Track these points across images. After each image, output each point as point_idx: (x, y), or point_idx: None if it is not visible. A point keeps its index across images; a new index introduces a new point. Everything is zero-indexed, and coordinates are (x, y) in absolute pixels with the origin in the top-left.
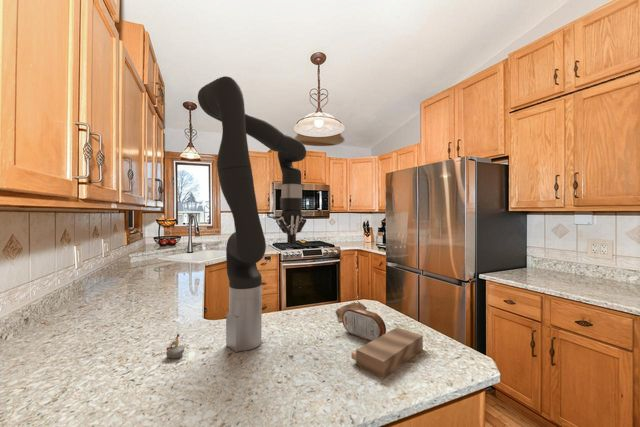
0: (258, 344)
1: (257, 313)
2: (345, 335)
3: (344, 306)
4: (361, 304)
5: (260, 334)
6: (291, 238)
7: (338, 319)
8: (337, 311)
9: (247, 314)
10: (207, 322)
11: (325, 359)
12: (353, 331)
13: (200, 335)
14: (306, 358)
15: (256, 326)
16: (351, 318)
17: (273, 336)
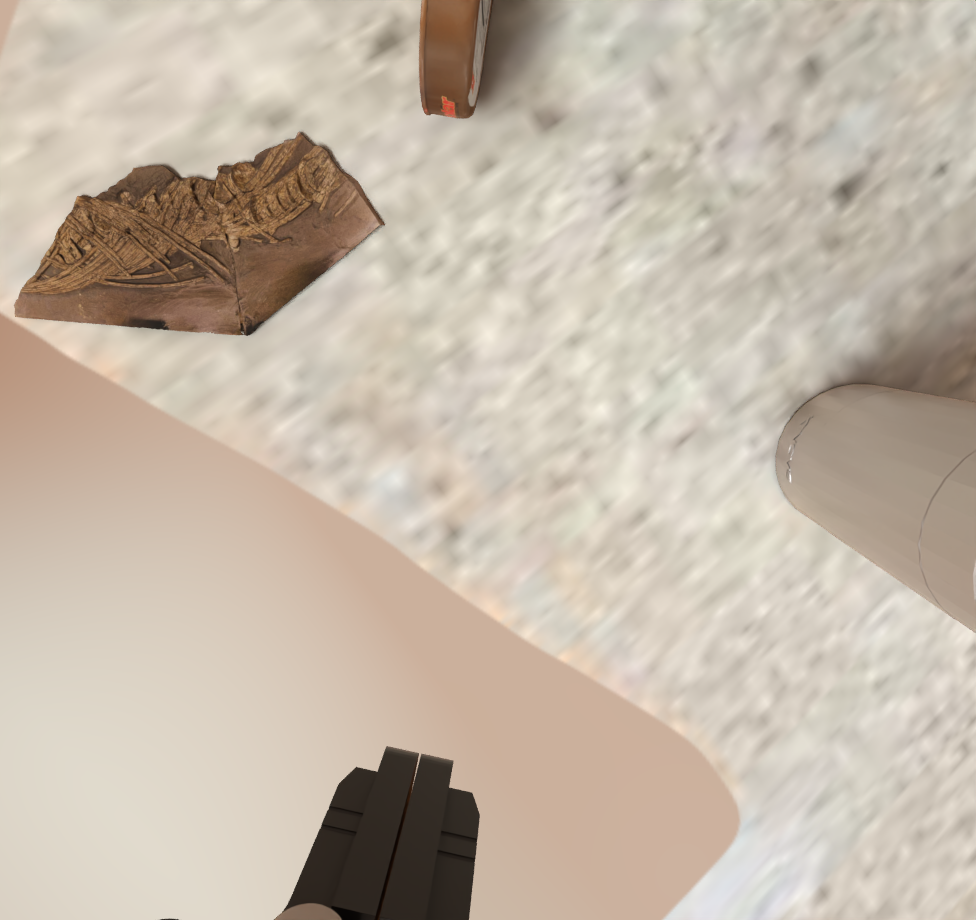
0: (848, 386)
1: (965, 405)
2: (510, 90)
3: (161, 322)
4: (57, 250)
5: (850, 396)
6: (436, 862)
7: (358, 238)
8: (258, 313)
9: None
10: (756, 770)
11: (794, 26)
12: (482, 42)
13: (879, 682)
14: (830, 114)
15: (924, 395)
16: (479, 16)
17: (719, 403)
